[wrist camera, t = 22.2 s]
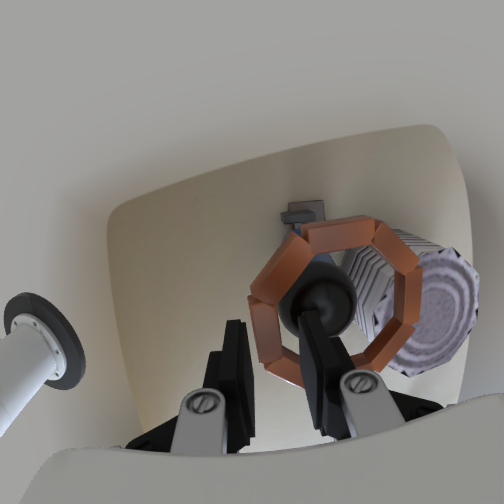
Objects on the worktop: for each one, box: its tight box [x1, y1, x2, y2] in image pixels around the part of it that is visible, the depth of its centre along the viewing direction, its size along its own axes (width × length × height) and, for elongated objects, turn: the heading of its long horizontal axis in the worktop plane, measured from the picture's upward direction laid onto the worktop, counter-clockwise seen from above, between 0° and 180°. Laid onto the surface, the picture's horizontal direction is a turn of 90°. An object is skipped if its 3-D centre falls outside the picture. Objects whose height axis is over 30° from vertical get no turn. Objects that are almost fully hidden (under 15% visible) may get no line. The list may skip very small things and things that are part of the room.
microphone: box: [277, 222, 358, 338], centre depth 21 cm, size 16×5×4 cm
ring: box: [247, 215, 423, 390], centre depth 13 cm, size 9×9×1 cm
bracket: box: [280, 200, 325, 231], centre depth 28 cm, size 4×8×3 cm, turn 7°
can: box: [340, 229, 479, 378], centre depth 25 cm, size 11×11×12 cm
